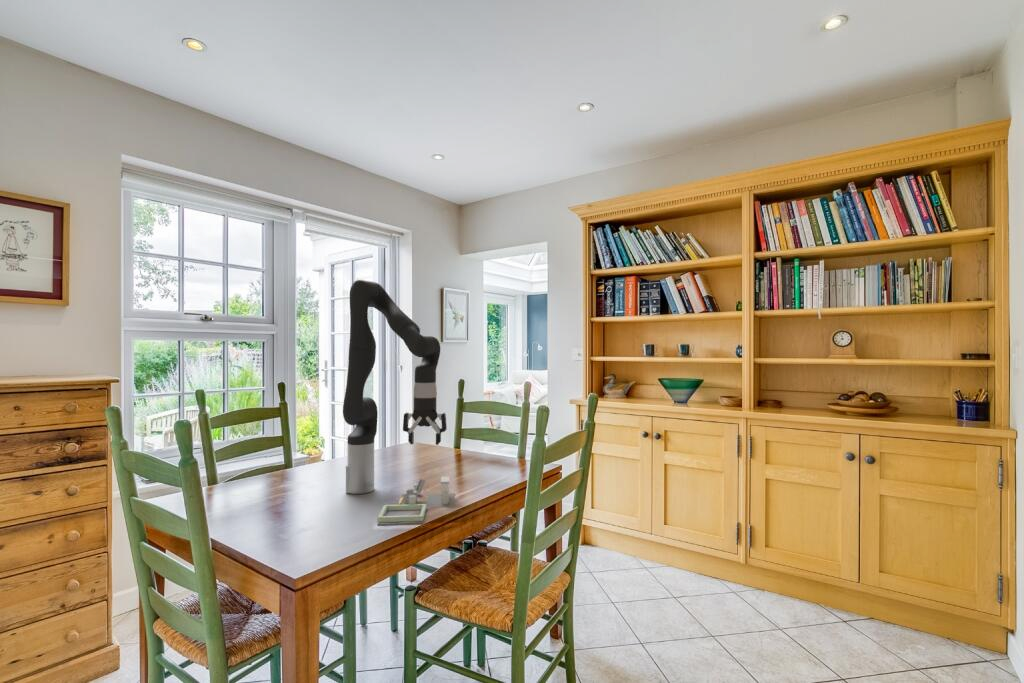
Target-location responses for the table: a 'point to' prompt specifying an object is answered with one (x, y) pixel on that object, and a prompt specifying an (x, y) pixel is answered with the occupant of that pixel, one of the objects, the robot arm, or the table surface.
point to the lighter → (412, 492)
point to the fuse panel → (433, 499)
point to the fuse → (445, 485)
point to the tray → (401, 518)
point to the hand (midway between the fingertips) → (424, 444)
